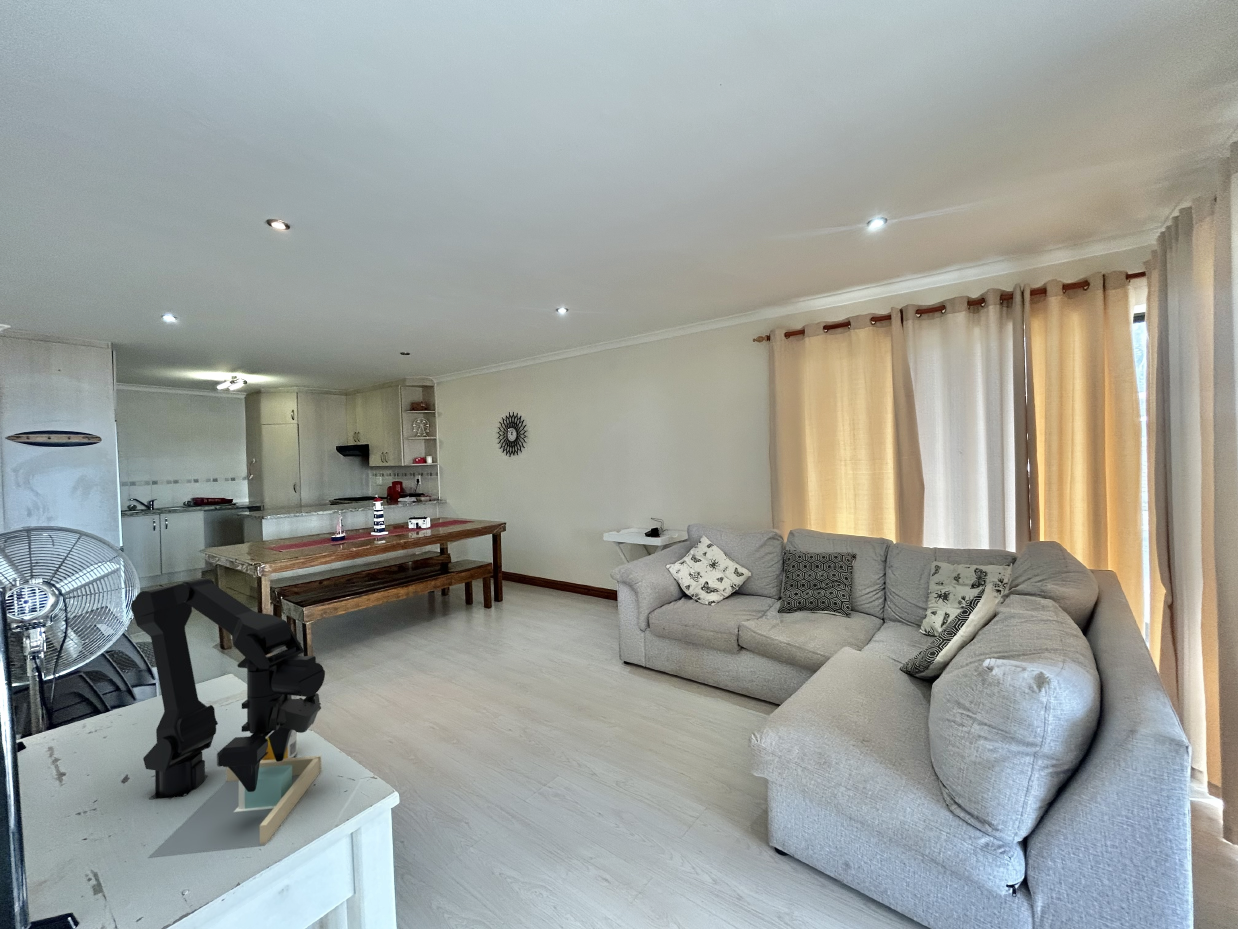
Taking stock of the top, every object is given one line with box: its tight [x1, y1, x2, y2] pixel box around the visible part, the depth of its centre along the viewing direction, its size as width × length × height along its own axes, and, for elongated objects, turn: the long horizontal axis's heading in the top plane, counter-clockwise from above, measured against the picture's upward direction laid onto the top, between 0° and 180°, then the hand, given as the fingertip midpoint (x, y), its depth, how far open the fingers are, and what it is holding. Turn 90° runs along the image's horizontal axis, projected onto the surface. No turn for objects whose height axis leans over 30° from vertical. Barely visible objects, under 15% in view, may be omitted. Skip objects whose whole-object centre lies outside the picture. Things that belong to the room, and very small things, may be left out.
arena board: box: [147, 755, 322, 859], centre depth 90 cm, size 17×20×4 cm
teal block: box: [239, 765, 292, 809], centre depth 92 cm, size 4×7×5 cm, turn 98°
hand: (266, 775), depth 92 cm, fingers open, 9 cm apart
